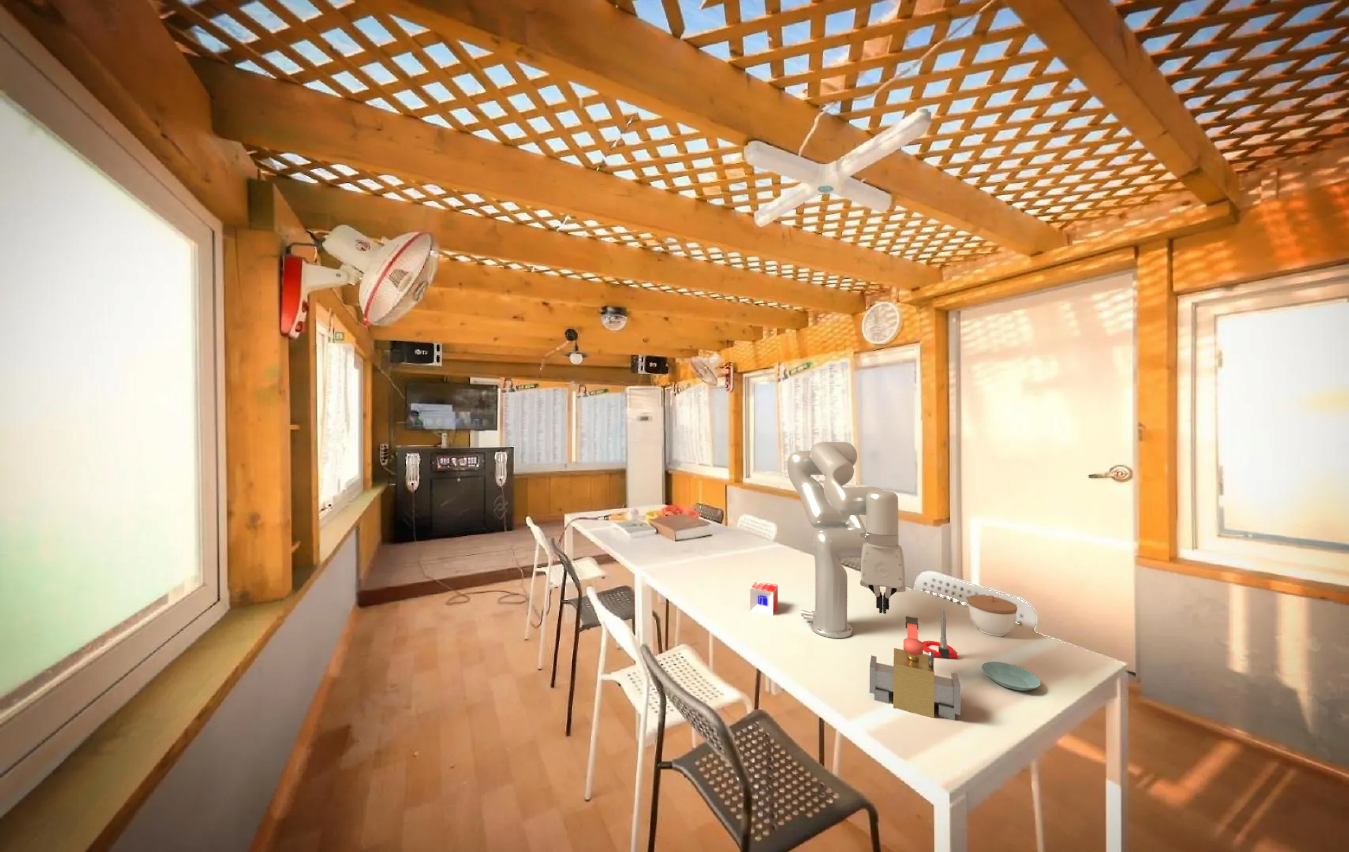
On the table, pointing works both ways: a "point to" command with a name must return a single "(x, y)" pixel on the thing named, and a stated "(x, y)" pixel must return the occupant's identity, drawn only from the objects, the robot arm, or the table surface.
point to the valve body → (915, 685)
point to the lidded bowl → (992, 614)
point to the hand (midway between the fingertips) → (882, 611)
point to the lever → (912, 637)
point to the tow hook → (941, 643)
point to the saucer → (1011, 676)
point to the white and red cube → (764, 598)
